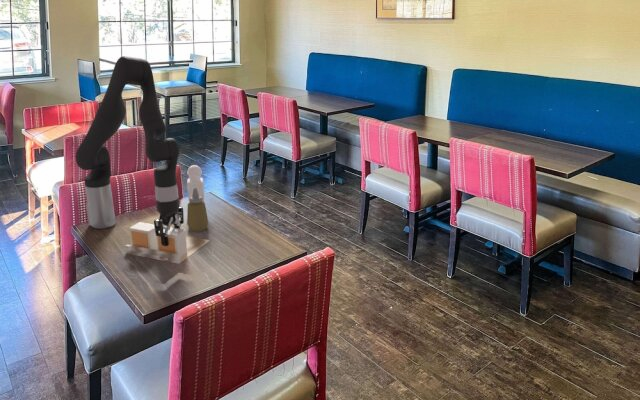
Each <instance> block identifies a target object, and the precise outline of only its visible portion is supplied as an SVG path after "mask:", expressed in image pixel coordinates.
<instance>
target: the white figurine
mask: <svg viewBox="0 0 640 400" xmlns="http://www.w3.org/2000/svg"><path fill="white" fill-rule="evenodd" d="M202 174H203V171H202V169H201V167H200V166H198V165H197V164H192V165H191V166H189V167H188V169H187V172H186V175H187V176H188V178H187V181H186V188H187V189H186V191H187V199H188V203H189V202H190V197H191V196H192V195H193V189H194V188H197V191H198V194H199V196H202V201H203V202H204V203H205V187H204V185H205V184H204V183H205V182H204V177H202Z"/></svg>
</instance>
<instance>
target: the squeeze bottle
mask: <svg viewBox="0 0 640 400" xmlns="http://www.w3.org/2000/svg"><path fill="white" fill-rule="evenodd" d="M186 213H187V217H186V225H187V227H188V229H189V230H190V231H191V232H203V231H206V230H207V228H208V225H209V220H208V213H207V209H206V203H205V201H204V202H203V201H202V196H199V194H198V191H197V188H194V189H193V195H192V196H191V197H190V202H189V201H188V203H187V212H186Z"/></svg>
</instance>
